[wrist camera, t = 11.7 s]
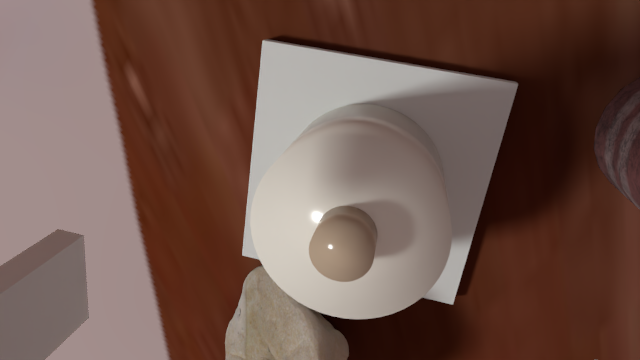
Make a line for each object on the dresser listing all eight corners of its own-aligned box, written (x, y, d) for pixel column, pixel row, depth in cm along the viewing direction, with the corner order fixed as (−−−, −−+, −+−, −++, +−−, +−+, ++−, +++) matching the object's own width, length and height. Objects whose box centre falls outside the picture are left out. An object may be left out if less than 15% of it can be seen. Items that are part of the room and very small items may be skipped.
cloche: (297, 90, 23) (245, 126, 16) (462, 120, 22) (482, 173, 15) (279, 233, 26) (229, 316, 19) (424, 266, 25) (426, 366, 18)
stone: (207, 271, 31) (209, 291, 21) (308, 247, 32) (353, 256, 23) (239, 434, 30) (256, 531, 20) (340, 401, 32) (400, 477, 22)
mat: (267, 39, 24) (262, 40, 23) (514, 81, 22) (518, 84, 21) (246, 248, 28) (242, 255, 27) (452, 296, 26) (452, 304, 26)
